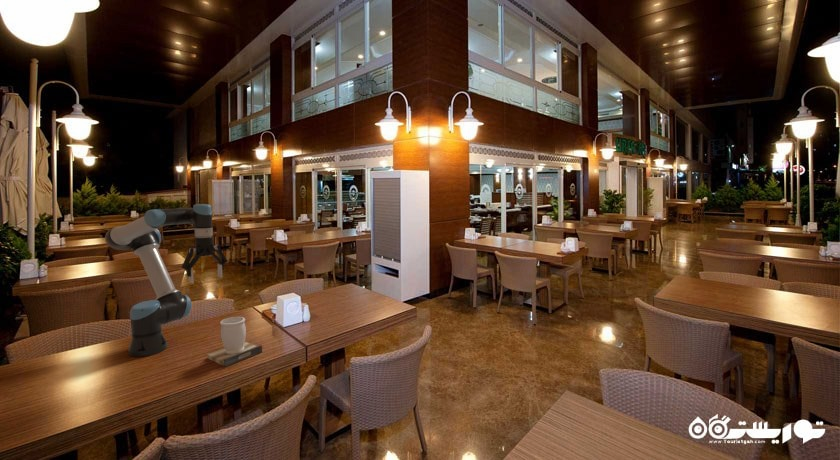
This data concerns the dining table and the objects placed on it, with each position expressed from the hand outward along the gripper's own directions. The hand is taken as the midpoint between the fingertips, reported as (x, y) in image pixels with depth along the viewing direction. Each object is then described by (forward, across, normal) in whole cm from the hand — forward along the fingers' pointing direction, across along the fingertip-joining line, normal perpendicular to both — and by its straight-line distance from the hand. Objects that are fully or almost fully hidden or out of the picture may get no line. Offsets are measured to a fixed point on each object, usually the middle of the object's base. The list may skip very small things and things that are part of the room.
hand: (206, 280), depth 179 cm
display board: (+34, +2, -18) cm, 39 cm away
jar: (+32, +2, -18) cm, 37 cm away
